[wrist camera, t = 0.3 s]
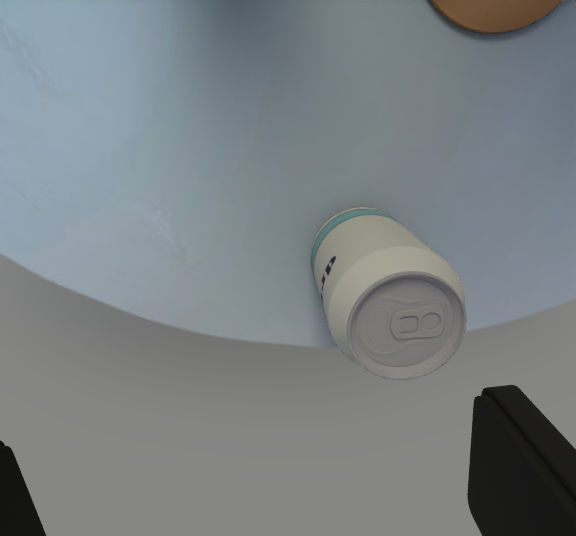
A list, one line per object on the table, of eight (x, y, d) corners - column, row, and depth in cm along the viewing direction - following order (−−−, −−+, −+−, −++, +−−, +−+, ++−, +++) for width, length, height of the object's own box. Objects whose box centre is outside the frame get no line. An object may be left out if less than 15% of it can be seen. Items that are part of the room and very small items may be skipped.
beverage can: (304, 211, 30) (325, 269, 18) (401, 197, 30) (484, 247, 18) (314, 300, 32) (339, 400, 21) (405, 288, 32) (479, 381, 21)
